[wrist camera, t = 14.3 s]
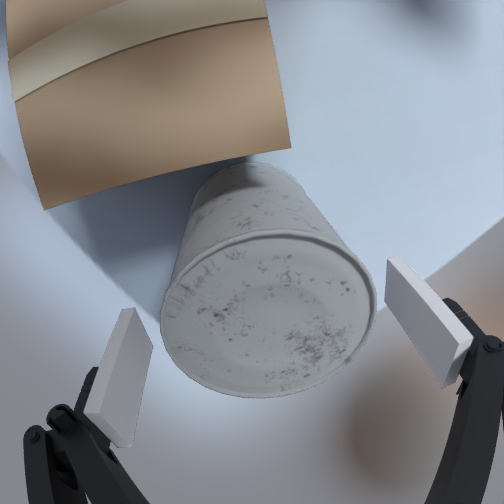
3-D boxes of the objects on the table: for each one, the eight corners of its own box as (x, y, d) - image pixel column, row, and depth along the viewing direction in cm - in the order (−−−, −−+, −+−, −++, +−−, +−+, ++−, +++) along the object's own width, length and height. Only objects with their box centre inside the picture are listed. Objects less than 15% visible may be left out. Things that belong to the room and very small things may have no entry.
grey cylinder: (220, 292, 26) (220, 414, 15) (167, 193, 22) (115, 287, 11) (325, 251, 25) (386, 358, 14) (287, 142, 21) (354, 190, 10)
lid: (14, -21, 7) (6, -24, 6) (234, -100, 7) (234, -109, 6) (51, 205, 14) (43, 211, 13) (288, 145, 13) (291, 148, 13)
